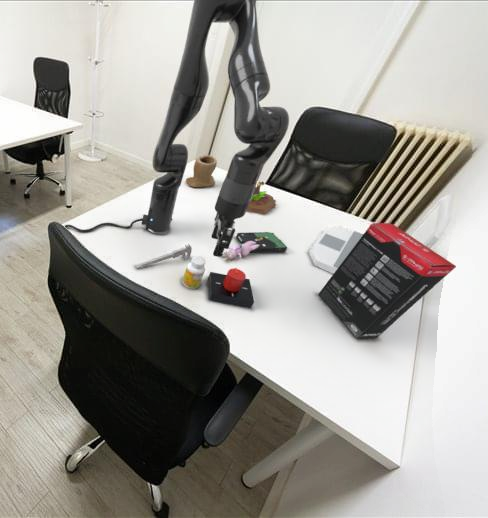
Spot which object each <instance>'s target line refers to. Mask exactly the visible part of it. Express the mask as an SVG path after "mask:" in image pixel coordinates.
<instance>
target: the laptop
mask: <svg viewBox="0 0 488 518" xmlns="http://www.w3.org/2000/svg"><path fill="white" fill-rule="evenodd" d="M452 204H453V196H452V195H451V194H450V193H448V194H446V195H444V196H442V197H440V198H439V199H438V201H437V202H436V203H435V204H433V206H432V207H431V208H430V209H429V211H428V212H427V213H426V214H425V215H424V216H423V218H422V219H421V220H420V221H419V222H418V223H417V224H416V225H415V227H414V228H413V229H412V230H411V231H410V232H409V233H408V235H410V236H411V237H413V238H414V239H416V240H417V241H419V242H420V243H422V244H423V245H425V246H426V247H428V248H429V249H431V248H432V247H434V245H435V244H436V243H437V242H438V241H439V240H440V239H441V237H442V235H443V234H444V231H445V230H446V228H447V227H448V225H449V223H450V221H451V215H452V206H453V205H452ZM363 234H364V233H361V232H358V231H356V230H353V229H350V228H347V227H344V226H342V225H337V226H329V227H326V228H325V229H324V230H323V231H322V233H321V234H320V236H319V237H318V238H317V239H316V240H315V242H314V243H313V245H312V246H311V247H310V249H309V253H308V254H309V256H310V258H311V261H312V263H313V265H314V267H317V268H319V269H321V270H323V271H326V272H328V273H331V274H332V275H333V274H334V273H335V271H336V270H337V269H338V267H339V266H340V265H341V263H342V262H343V261H344V260H345V258H346V257H347V256H348V254H349V253H350V252H351V250H352V249H353V248H354V246H355V245H356V244H357V242H358V241H359V240H360V238H361V237H362V236H363Z"/></svg>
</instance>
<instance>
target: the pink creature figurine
mask: <svg viewBox="0 0 488 518" xmlns="http://www.w3.org/2000/svg"><path fill="white" fill-rule="evenodd" d="M255 243H256V242H254V241H248V242H246V243H245V244H241V243H238V244H237V245H236V246H235V247H234V248H233V247H229V248H228V249H227V251H223V254H222V256H221V258H224V256H225V257H226V258H225V262H228V260H229V261H233V260H234V259H235V258H236V257H237V256H238V257H239V259H242V256H244V257H245V256H249V254H250V253H249V252H250V251H252V250H254V249H256V248H257V247H258V246H259V245H253V244H255ZM251 245H252V246H251Z"/></svg>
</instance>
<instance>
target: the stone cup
mask: <svg viewBox="0 0 488 518" xmlns="http://www.w3.org/2000/svg"><path fill="white" fill-rule="evenodd" d="M217 161H218V160H217V158H216V157H214V156H212V155H210V154H209V155H208V154H203V155H201V156H197V158H196V159H195V161H194V164H193V176H189V177H186V179H185V182H186V183H187V184H188V185H189V186H190V187H193V188H204V187H209V186H211V187H212V186H215V185H216V181H215V179H214V176H213V175H212V174H213V173H214V172H215V170H216V168H217V164H218V163H217Z"/></svg>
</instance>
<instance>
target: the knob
mask: <svg viewBox="0 0 488 518" xmlns="http://www.w3.org/2000/svg"><path fill="white" fill-rule="evenodd" d="M225 275H226V277H225V280H224V282H223V286H224V287H225V288H226V289H227V290H229V291H232V292H237V291H239V290H240V288H241V286H242V284H243V282H244V280H245V278H246V277H247V276H246V273H245V272H244V271H242V270H241V269H240V268H238V267H234V268H230V269H228V270H227V273H226V274H225ZM246 279H247V278H246Z"/></svg>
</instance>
